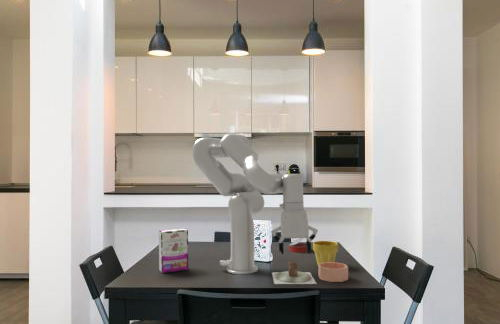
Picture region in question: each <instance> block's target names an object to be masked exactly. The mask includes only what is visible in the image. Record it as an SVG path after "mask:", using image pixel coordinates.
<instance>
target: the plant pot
mask: <svg viewBox="0 0 500 324" xmlns="http://www.w3.org/2000/svg"><path fill="white" fill-rule="evenodd" d="M312 242H313V243H312V249H313V250H312V251H313V252H314V255H315V260H316V263H317V266H318V264H321V263H324V262H335V261H336V256H337V253H338V252H339V244H338V242H336V241H332V240H317V241H312Z"/></svg>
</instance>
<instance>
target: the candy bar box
mask: <svg viewBox="0 0 500 324" xmlns="http://www.w3.org/2000/svg"><path fill="white" fill-rule="evenodd" d="M158 269H159V272H160V273H161V274H166V273H168V274H169V273H172V272H173V273H175V272H181V271H182V272H183V271H188V270H189V230H188V229H186V228H175V229H165V230H164V229H163V230H158Z"/></svg>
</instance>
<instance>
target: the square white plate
mask: <svg viewBox="0 0 500 324" xmlns="http://www.w3.org/2000/svg"><path fill="white" fill-rule="evenodd" d="M303 272H304V271H303ZM277 273H279V271H278V272H276V271H275V272H274V271H273V272H271V276H272V279H273V284H274V285H305V284H306V285H317V284H318V283H317V282H316V280H315V278H314V276H312V273H311V272H309V271H308V272H307V271H305V272H304V273H307V274H309V275H310V276H311V279H310V280H309V281H307V282H301V283H288V282H282V281H279V280H277V279H276V274H277Z"/></svg>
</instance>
